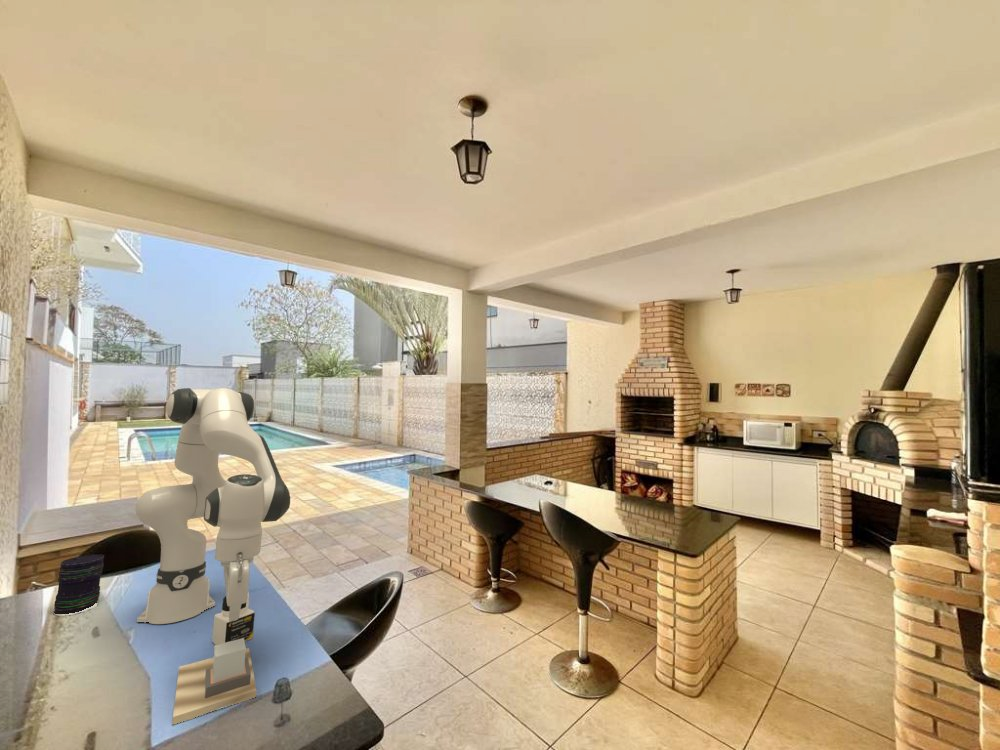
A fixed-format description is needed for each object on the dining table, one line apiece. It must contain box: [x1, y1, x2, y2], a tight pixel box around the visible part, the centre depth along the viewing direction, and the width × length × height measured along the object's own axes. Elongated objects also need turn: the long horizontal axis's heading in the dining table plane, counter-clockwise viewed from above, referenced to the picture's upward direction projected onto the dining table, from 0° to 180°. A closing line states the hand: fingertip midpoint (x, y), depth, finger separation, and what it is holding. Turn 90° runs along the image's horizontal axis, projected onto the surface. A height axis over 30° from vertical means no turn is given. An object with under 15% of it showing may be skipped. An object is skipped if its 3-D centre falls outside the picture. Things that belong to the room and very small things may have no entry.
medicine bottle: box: [211, 592, 256, 645], centre depth 109 cm, size 7×7×12 cm
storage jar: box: [53, 553, 105, 614], centre depth 126 cm, size 10×10×15 cm
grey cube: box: [212, 638, 246, 682], centre depth 89 cm, size 6×6×5 cm
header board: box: [171, 647, 258, 726], centre depth 90 cm, size 20×14×7 cm
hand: (232, 610), depth 90 cm, fingers open, 8 cm apart
